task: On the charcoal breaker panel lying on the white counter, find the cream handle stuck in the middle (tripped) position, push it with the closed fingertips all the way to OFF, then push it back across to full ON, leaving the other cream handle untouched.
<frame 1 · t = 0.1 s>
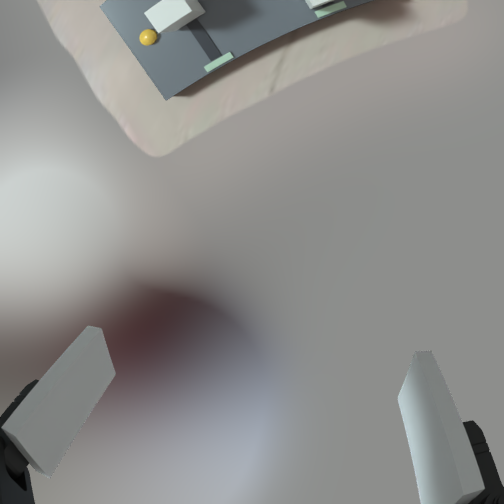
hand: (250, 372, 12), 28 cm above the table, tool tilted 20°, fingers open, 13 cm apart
tripped breaker: (176, 11, 22), point 5 cm above the table, slide at 4.5 cm
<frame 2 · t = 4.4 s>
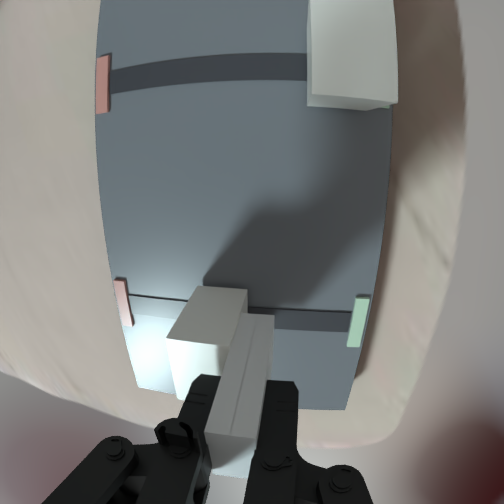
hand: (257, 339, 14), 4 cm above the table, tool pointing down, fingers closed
tripped breaker: (213, 343, 14), point 5 cm above the table, slide at 4.0 cm, touching gripper
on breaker: (344, 57, 9), point 5 cm above the table, slide at 9.0 cm
breaker panel: (239, 192, 16), on the table
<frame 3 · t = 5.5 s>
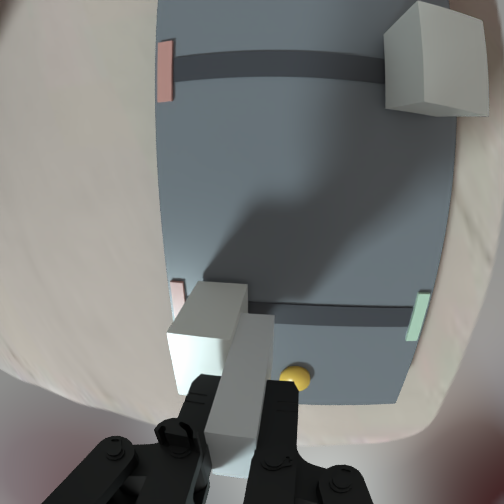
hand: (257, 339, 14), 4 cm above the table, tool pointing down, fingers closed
tripped breaker: (214, 338, 14), point 5 cm above the table, slide at 0.5 cm, touching gripper
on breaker: (430, 66, 9), point 5 cm above the table, slide at 9.0 cm
breaker panel: (306, 189, 16), on the table
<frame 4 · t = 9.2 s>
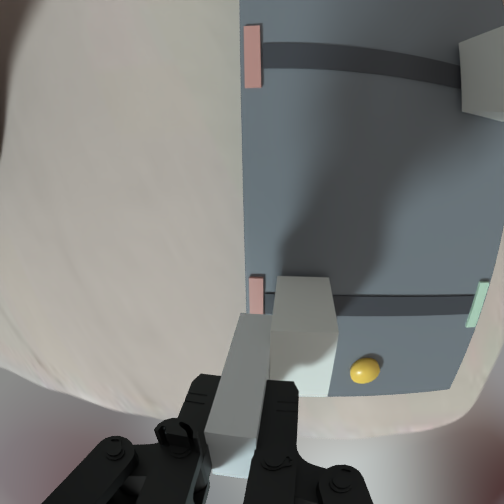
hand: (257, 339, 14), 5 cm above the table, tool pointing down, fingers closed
tripped breaker: (301, 333, 14), point 5 cm above the table, slide at 0.4 cm, touching gripper
breaker panel: (383, 184, 15), on the table
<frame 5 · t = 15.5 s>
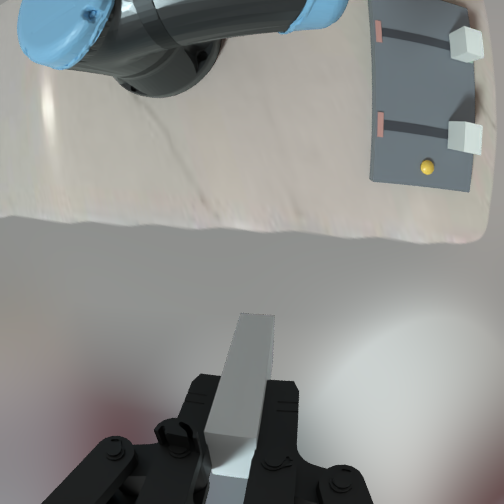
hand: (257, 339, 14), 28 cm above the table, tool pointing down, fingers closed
tripped breaker: (464, 137, 30), point 5 cm above the table, slide at 8.5 cm
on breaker: (466, 45, 25), point 5 cm above the table, slide at 9.0 cm
breaker panel: (423, 86, 32), on the table
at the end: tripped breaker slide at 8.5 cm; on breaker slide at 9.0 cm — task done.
